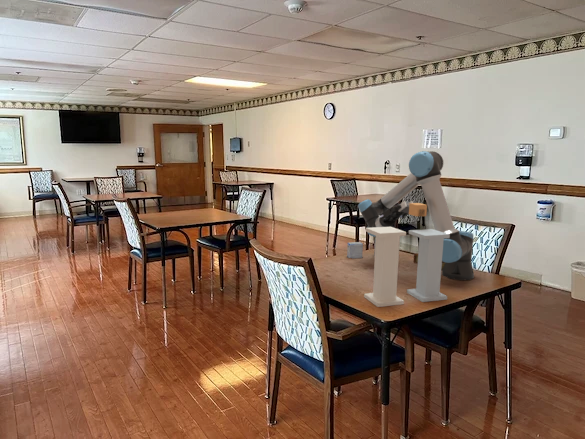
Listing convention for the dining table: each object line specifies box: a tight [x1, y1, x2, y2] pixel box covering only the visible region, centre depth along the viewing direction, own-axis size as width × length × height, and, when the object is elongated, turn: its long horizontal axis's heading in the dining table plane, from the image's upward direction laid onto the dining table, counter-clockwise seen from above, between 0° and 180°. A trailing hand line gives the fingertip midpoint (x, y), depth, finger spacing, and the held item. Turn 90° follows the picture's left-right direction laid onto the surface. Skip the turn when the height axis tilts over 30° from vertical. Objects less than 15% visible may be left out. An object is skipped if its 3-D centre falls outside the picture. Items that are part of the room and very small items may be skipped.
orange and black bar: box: [396, 202, 428, 217], centre depth 197 cm, size 5×18×5 cm, turn 17°
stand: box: [363, 226, 407, 308], centre depth 179 cm, size 12×14×30 cm
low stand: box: [406, 228, 450, 303], centre depth 186 cm, size 12×14×28 cm
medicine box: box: [346, 241, 364, 259], centre depth 250 cm, size 8×4×9 cm, turn 104°
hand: (409, 203), depth 198 cm, fingers closed on orange and black bar, 3 cm apart
